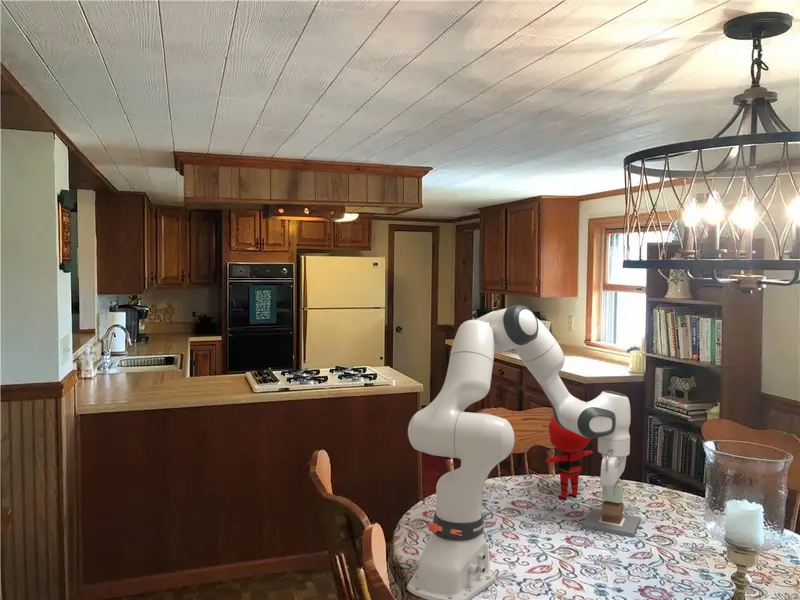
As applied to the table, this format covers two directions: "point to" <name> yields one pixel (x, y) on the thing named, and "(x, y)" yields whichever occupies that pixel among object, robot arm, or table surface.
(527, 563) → the table surface
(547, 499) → the table surface
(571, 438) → the toy
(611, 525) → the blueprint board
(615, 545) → the table surface
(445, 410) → the robot arm
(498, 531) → the table surface
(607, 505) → the walnut block
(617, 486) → the sage block
